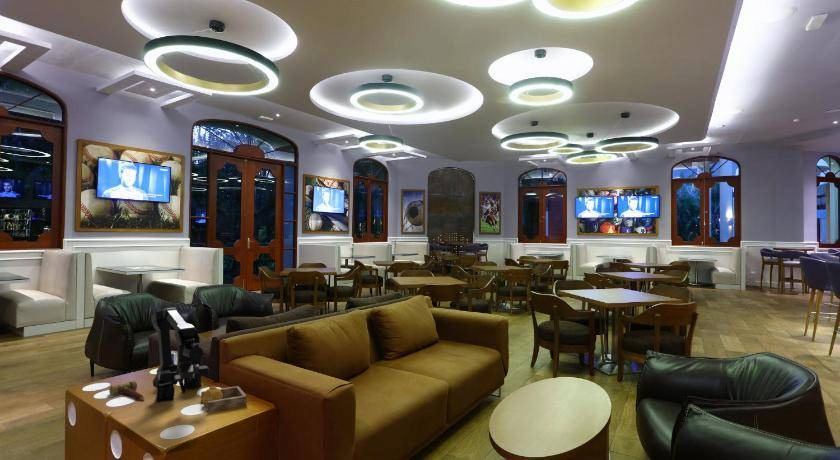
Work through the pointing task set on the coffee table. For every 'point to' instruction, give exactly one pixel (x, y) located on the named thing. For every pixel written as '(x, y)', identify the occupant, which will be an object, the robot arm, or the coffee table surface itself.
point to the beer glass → (174, 357)
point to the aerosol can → (197, 380)
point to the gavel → (126, 390)
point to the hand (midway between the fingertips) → (183, 393)
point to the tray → (227, 399)
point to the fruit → (211, 395)
